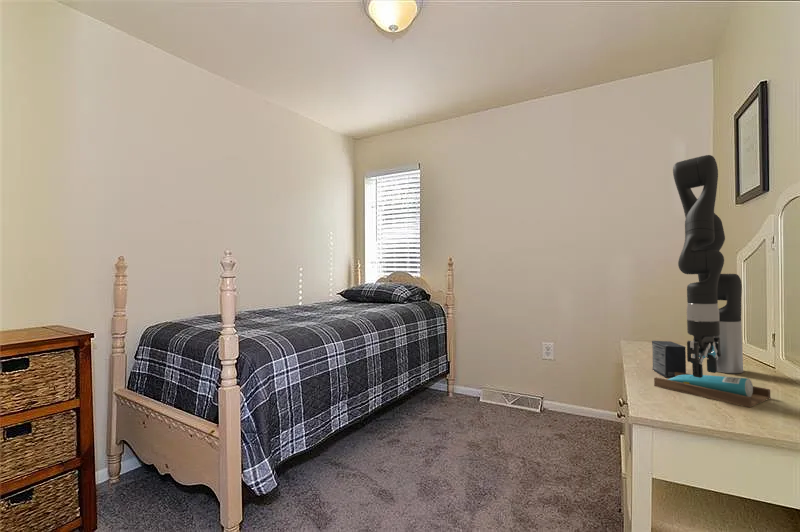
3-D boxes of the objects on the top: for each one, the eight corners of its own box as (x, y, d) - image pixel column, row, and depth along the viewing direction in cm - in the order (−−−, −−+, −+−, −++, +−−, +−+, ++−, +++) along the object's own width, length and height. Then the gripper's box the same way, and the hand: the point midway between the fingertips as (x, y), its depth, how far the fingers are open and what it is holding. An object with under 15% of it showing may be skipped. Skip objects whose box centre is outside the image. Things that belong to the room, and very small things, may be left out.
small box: (688, 378, 127) (687, 346, 127) (665, 378, 129) (664, 345, 129) (672, 370, 138) (671, 340, 138) (651, 370, 139) (650, 340, 139)
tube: (756, 395, 107) (678, 384, 124) (754, 377, 108) (677, 368, 125) (744, 399, 104) (665, 386, 120) (742, 380, 104) (664, 370, 121)
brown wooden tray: (676, 379, 127) (676, 371, 127) (770, 398, 107) (770, 389, 107) (654, 385, 121) (654, 377, 121) (749, 407, 101) (749, 397, 101)
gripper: (700, 315, 122) (702, 368, 121) (675, 319, 115) (677, 375, 114) (729, 317, 115) (732, 373, 115) (706, 322, 108) (708, 381, 108)
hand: (705, 374), depth 115 cm, fingers open, 8 cm apart
